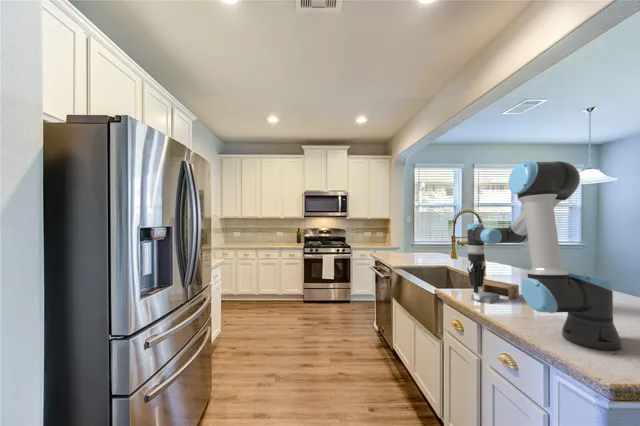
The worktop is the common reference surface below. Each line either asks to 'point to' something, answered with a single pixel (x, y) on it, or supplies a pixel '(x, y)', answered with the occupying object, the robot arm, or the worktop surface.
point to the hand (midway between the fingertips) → (477, 299)
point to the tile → (487, 297)
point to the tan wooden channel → (501, 288)
